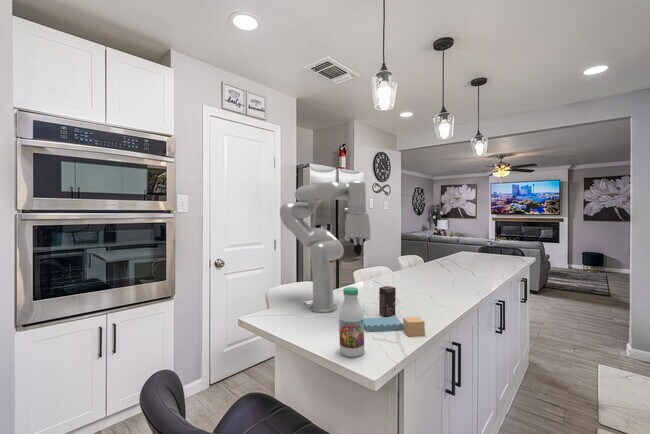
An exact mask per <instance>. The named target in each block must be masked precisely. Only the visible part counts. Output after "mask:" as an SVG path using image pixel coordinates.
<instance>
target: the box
mask: <svg viewBox="0 0 650 434" xmlns="http://www.w3.org/2000/svg"><path fill="white" fill-rule="evenodd" d="M396 291H397V290H396V287H394V286H390V285H387V286H382V287H379V292H378V293H379V295H378V296H379V297H378V299H379V301H378V302H379V303H378V304H379V305H378V307H379V311H378V313H379V316H380V317H382V318H384V317H394V316H395V315H396Z"/></svg>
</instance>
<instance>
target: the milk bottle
mask: <svg viewBox="0 0 650 434" xmlns="http://www.w3.org/2000/svg"><path fill="white" fill-rule="evenodd" d="M358 296H359V289H358V288H357V287H353V286H348V287H344V288H343V297H344V298H343V303H342V305H341V307H340V310H339V315H338V317H339V318H338V320H339V321H338V323H339V324H338V328H339V329H338V331H339V332H338V334H339V335H338V336H339V353H340V354H341V355H342V356H344V357H348V358H357V357H361V356H362V355H364V353H365V328H364V319H363V318H364V313H363V309H362V307H361V305H360V302H359V298H358Z"/></svg>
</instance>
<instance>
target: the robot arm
mask: <svg viewBox="0 0 650 434" xmlns="http://www.w3.org/2000/svg"><path fill="white" fill-rule="evenodd" d="M366 188H367V187H366V183H365V181H361V180H353V181H349V182H342V181H341V182H339V181H327V182H320V183H317V184H311V185H310V184H308V185H301V186H300V187H298V188H296V190H295V192H294V196H295V199H296V200H297V201H295V202H294V201H289V202H286V203H283V204H281V206H280V208H279V217H280V221H281V223H282V224H283V225H284V227H286V228H287V229H288V230H289V231H290V232H291V234H293V235H294V236H295V238H297V240H298V241H299V242H300V243H301V244H302V245H303V246H304V247H305V248H309V255H310V260H311V266H312V268H311V269H312V298H311V299H310V300H307V299H306V300H303V305H304V306H310V307H309V310H310V311H311V312H313V313H314V312H315V313H320V314H321V313H323V314H324V313H333V312H334V311H336V310H337V309H338V306H337V305H336V304H335V303H334V271H333V267H332V265H331V263H330V261H336V260H339V259H340V258H342V257H343V256H344V252H345V249H344V246H343V244H342V242H341V241H340V240H339V239H337V237H336V236H334V235H333V233H332V232H330V231H329V230H328V229H325V228H324V227H311V226H310V225H309V224H308V223H306V221H304V220H303V219H308V218H309V217H311V215H313V214H314V212H315V211H316V209H317V208H318V207H319V205H320V203H323V202H324V201H325V200H340V201H347V207H345V208H344V212H347V214H346V217H345V224H344V225H345V226H344V227H345V228H344V235H345V236H344V240H345V241H347V242H350V243H351V244H353V253H354V254H355V255H356V256H357V255H358V256H359V255H361V254H362V251H363V250H362V249H363V247H362V245H363V244H364V243H365V242H367V241H370V240H371V223H370V217H369V213H367V202H366V200H367V198H366V197H367V196H366V195H367V194H366V192H367V191H366ZM357 239H358V242H357Z"/></svg>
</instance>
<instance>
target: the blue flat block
mask: <svg viewBox="0 0 650 434" xmlns="http://www.w3.org/2000/svg"><path fill="white" fill-rule="evenodd" d="M363 319H364V331H365V332H366V333H376V332H394V331H395V332H397V331H403V322H402V321H401V320H399V319H398V317H397V316H389V317H369V318H368V317H367V318H366V317H363Z"/></svg>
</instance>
